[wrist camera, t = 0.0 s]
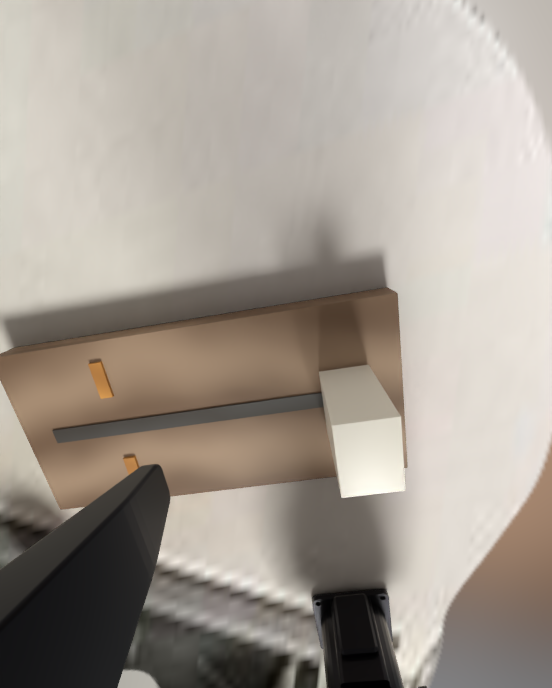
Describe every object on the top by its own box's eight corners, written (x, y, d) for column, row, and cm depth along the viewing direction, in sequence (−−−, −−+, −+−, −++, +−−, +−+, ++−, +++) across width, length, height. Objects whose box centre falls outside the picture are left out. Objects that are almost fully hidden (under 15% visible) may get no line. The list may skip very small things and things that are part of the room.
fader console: (398, 449, 25) (408, 469, 23) (76, 489, 27) (58, 511, 25) (387, 287, 21) (398, 293, 19) (14, 347, 23) (-13, 359, 21)
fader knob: (373, 422, 22) (405, 490, 16) (326, 428, 22) (341, 498, 16) (368, 364, 20) (401, 416, 15) (318, 371, 21) (331, 425, 15)
